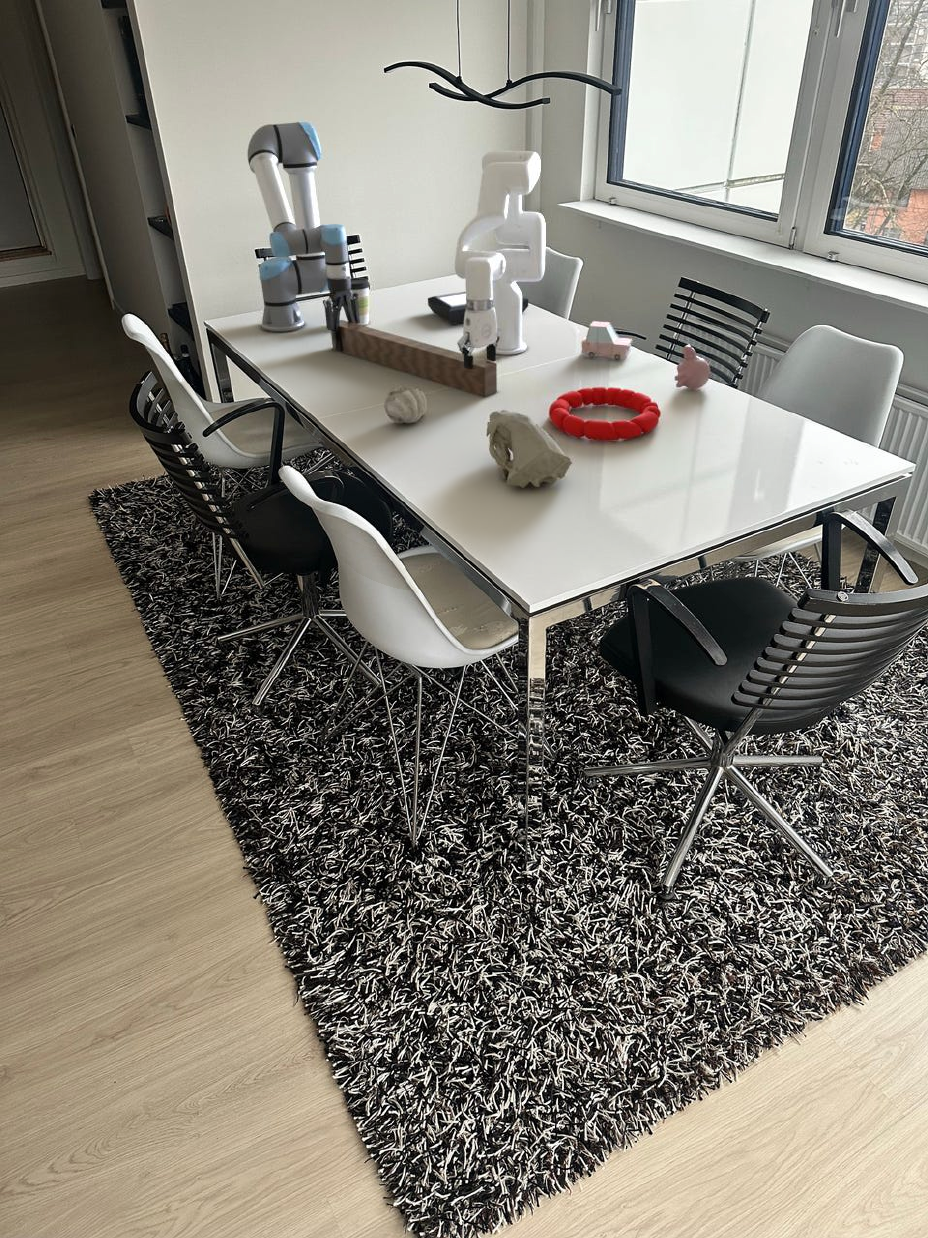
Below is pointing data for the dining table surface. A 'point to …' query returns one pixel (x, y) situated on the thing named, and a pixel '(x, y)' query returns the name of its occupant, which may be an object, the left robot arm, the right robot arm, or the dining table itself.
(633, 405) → the decorative ring
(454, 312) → the electronic device
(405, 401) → the seashell
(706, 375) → the figurine
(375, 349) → the post
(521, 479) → the animal skull
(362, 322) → the coffee cup
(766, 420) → the dining table surface
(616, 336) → the toy car
